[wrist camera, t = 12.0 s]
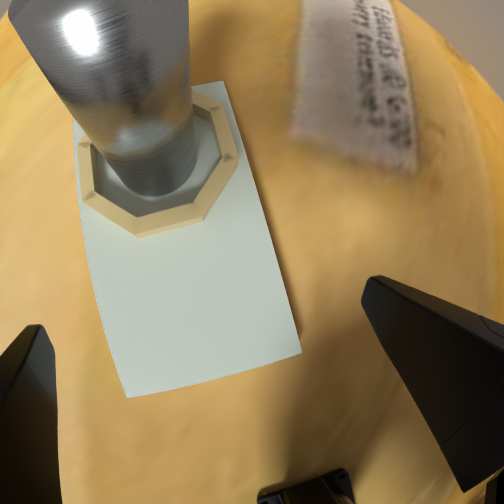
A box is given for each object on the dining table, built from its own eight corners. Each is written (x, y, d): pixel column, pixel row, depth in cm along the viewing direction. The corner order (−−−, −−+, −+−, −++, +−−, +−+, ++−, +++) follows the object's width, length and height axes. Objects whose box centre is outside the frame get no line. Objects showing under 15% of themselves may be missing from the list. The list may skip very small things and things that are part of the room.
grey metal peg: (190, 200, 16) (157, 8, 4) (110, 194, 16) (-23, 45, 3) (201, 126, 17) (205, -72, 4) (127, 122, 16) (60, -51, 4)
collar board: (296, 348, 17) (309, 357, 15) (132, 391, 16) (121, 405, 13) (222, 90, 18) (224, 69, 16) (79, 129, 17) (66, 111, 15)
